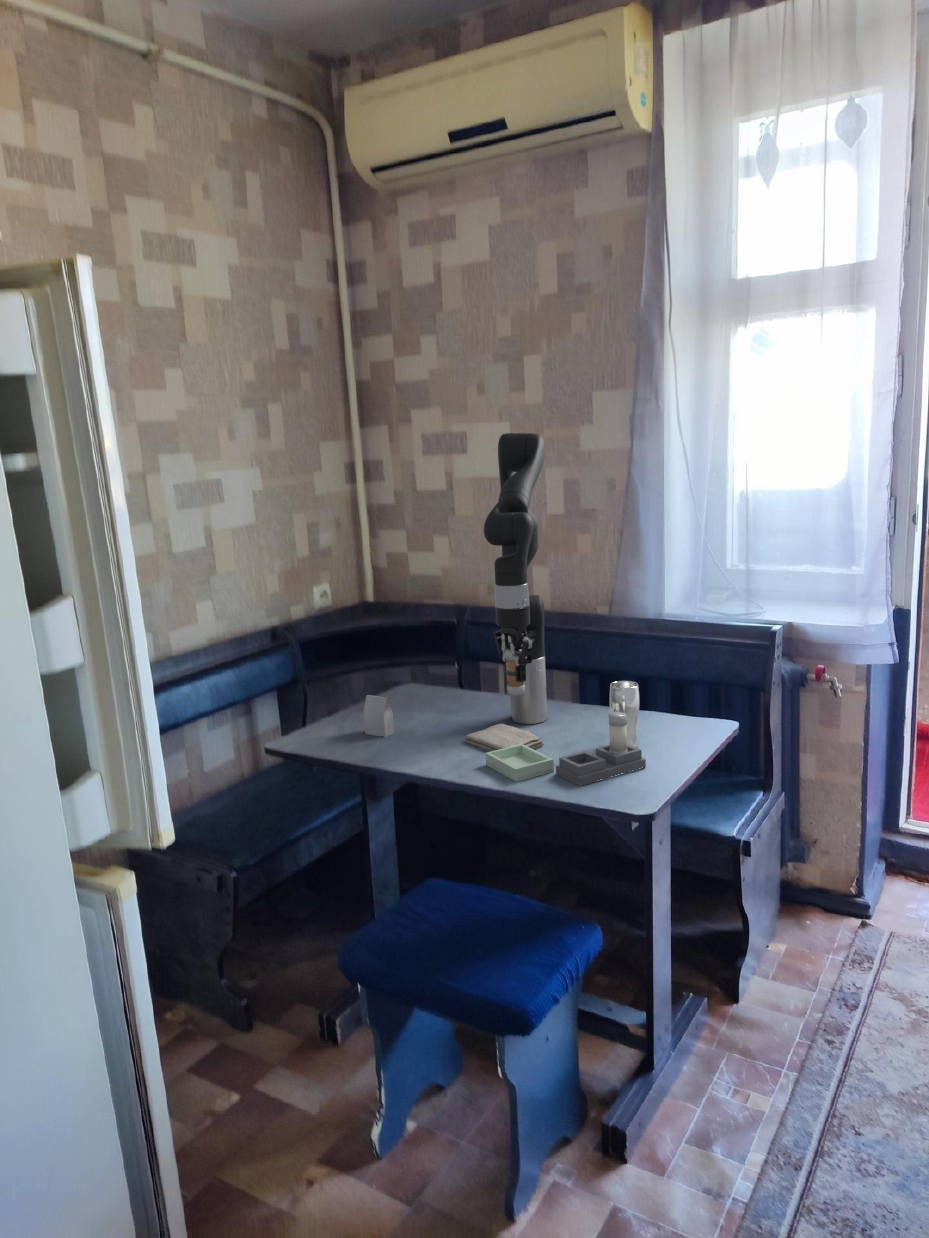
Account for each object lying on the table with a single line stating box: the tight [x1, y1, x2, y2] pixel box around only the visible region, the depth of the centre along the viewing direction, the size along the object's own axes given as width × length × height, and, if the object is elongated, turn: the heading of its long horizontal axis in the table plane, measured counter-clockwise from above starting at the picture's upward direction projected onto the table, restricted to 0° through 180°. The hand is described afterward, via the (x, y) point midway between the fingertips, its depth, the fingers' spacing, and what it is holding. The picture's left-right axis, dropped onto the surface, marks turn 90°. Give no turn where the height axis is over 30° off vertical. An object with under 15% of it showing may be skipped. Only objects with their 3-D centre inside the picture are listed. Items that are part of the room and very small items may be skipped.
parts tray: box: [485, 744, 555, 782], centre depth 206 cm, size 13×10×3 cm
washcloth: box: [464, 723, 545, 752], centre depth 223 cm, size 12×18×3 cm, turn 40°
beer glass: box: [609, 680, 640, 748], centre depth 216 cm, size 7×7×15 cm
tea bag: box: [362, 694, 395, 738], centre depth 235 cm, size 4×7×10 cm, turn 56°
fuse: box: [608, 712, 628, 755], centre depth 202 cm, size 4×4×10 cm
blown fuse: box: [505, 648, 525, 696], centre depth 201 cm, size 4×4×10 cm
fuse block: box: [555, 743, 647, 786], centre depth 201 cm, size 9×18×4 cm, turn 119°
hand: (515, 679), depth 202 cm, fingers closed on blown fuse, 4 cm apart
